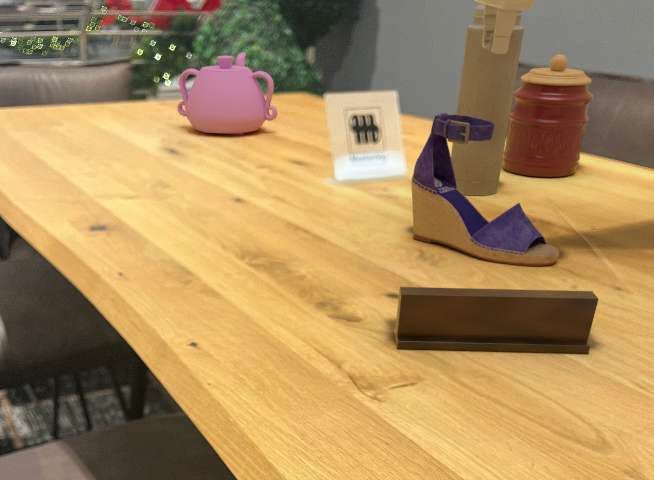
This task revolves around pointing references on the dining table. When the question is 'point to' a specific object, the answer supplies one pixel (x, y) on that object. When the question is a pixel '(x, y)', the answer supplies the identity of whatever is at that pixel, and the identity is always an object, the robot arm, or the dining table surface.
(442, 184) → the sandal
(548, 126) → the kitchen canister
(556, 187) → the dining table surface
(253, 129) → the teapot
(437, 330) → the shoe rail
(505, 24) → the robot arm
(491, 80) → the thermos bottle
